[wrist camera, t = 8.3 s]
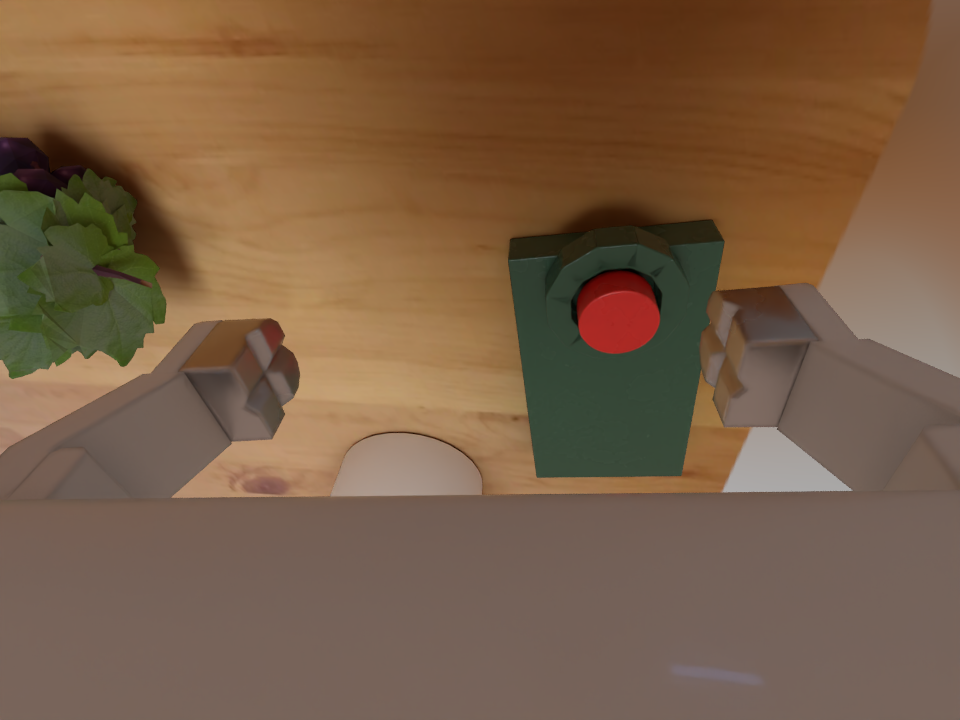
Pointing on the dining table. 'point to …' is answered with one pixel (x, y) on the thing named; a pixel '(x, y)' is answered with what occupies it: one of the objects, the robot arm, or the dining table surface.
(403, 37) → the dining table surface
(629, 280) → the button
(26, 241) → the fruit
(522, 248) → the button housing
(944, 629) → the robot arm
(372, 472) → the white cylinder
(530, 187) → the dining table surface
